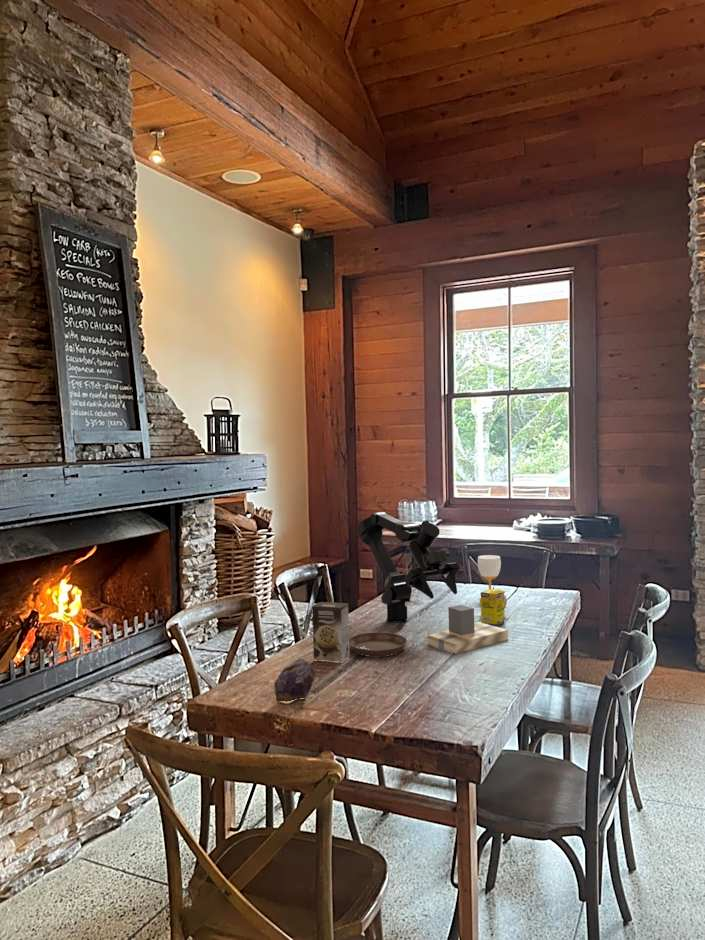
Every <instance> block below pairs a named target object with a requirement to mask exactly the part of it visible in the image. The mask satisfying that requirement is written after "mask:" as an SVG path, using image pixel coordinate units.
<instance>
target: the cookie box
mask: <svg viewBox="0 0 705 940" xmlns="http://www.w3.org/2000/svg"><path fill="white" fill-rule="evenodd" d="M311 608H312V610H311V611H312V644H313V660H314V659H315V660H329V661H339V662H343V661H344V660H345V659H346V658H348V657H349V656H350V645H349V639H350V633H349V631H350V630H349V626H350V625H349V603H345V602H330V601H329V602H328V601H326V602H325V601H319V602H318V603H315V604H313V605H311Z"/></svg>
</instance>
